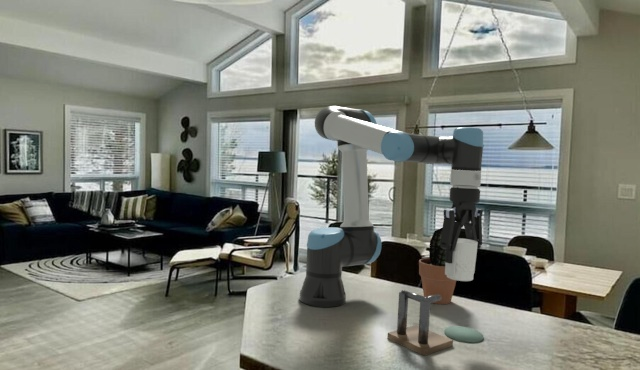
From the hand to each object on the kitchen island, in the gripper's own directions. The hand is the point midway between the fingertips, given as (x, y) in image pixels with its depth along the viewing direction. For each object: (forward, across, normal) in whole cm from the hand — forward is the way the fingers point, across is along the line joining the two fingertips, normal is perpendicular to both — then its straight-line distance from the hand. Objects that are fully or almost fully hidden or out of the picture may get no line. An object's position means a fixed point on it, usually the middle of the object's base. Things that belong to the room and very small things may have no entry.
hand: (459, 273), depth 115 cm
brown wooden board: (+17, -11, +3) cm, 21 cm away
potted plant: (+17, +23, +24) cm, 38 cm away
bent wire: (+16, -11, +3) cm, 20 cm away
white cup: (+1, 0, 0) cm, 1 cm away
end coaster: (+17, +4, 0) cm, 18 cm away
